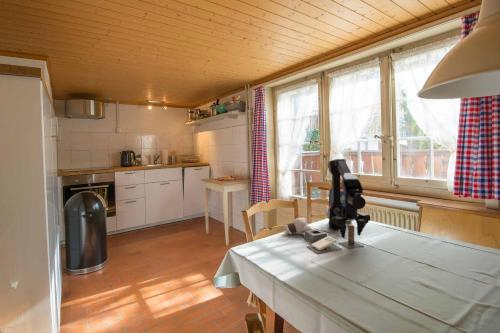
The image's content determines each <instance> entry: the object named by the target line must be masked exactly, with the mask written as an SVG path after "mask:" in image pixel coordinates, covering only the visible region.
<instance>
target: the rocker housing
mask: <svg viewBox="0 0 500 333" xmlns="http://www.w3.org/2000/svg"><path fill="white" fill-rule="evenodd" d="M306 248H308V249H309V250H311V251H312V252H314V253H315V254H318V255H320V254H326V253H331V252H332V253H333V252H335V251H336V252H337V251H342V250H343V248H342V247H340V246H338V245H337V244H335V243H334V244H332V245H330V246H328V247H326V248H324V249H322V250H320V251H319V250H317V249H316V248H314V247H312V245H306Z"/></svg>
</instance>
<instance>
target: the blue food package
mask: <svg viewBox="0 0 500 333" xmlns="http://www.w3.org/2000/svg"><path fill="white" fill-rule="evenodd" d="M344 194H345V193H344V191H343V188H342V182H340V200H341V203H342V205H343V206H345V198H344ZM331 201H332V187H331V188H330V190H329V193H328V206H329V205H330V203H331ZM330 216H331V215H330ZM344 218H345V217H344ZM352 222H353V221H346V224H345V225H347V224H351V223H352Z"/></svg>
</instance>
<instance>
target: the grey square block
mask: <svg viewBox="0 0 500 333" xmlns="http://www.w3.org/2000/svg"><path fill="white" fill-rule="evenodd" d="M327 236H328V233H327V232H324V231H323V230H321V229H319V228H316V229H313V230H308V231H305V233H304V239H305V240H307V241H308V242H310V243H311V244H313V243H315V242H317V241H319V240H321V239H323V238H325V237H327Z"/></svg>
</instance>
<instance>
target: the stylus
mask: <svg viewBox="0 0 500 333" xmlns="http://www.w3.org/2000/svg"><path fill="white" fill-rule="evenodd" d="M347 241H348V244H349V245H354V242H355V225H353V224H348V225H347Z"/></svg>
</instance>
